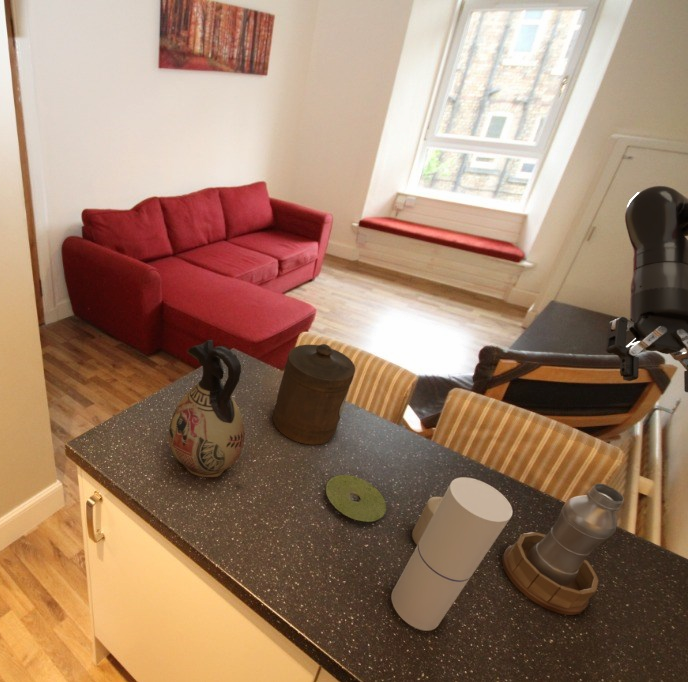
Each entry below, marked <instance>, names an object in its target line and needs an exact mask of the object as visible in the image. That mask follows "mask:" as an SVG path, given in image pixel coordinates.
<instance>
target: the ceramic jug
mask: <svg viewBox="0 0 688 682" xmlns="http://www.w3.org/2000/svg"><path fill="white" fill-rule="evenodd" d="M186 352H187V354H189V355H190V356H192V357H193V358H195V360H197V362H198V363H199V364H200V365H201V366H202V377H201V379H200V380H199V381H198V383H197V384H196V385H194V386H193V387H192V388H191V389H190V390H189V391H188V392H187V393H186V395H184V396H183V397H182V399H181V400H180V401H179V402H178V404H177V405H176V407H175V409H174V412H173V414H172V416H171V420H170V423H169V427H168V443H169V447H170V450H171V452H172V455H173V456H174V457H175V459H176V460H177V461H178V462H179V463H180V464H182V465H183V466H184V467H185V469H186V470H187V471H188V472H190V474H192V475H194V476H197V477H201V478H216V477H220V476H222V474H223V473H224V471H225V470H227V469H229V468H230V467H231V466H233V465H234V463H235V462H236V461H237V460H238V458H239V457H240V456H241V453H242V452H243V448H244V444H245V435H246V434H245V433H246V432H245V425H244V421H243V416H242V413H241V411H240V408H239V406H238V405H237V402H236V401H235V399H234V397H233V396H232V395H233V393H234V391H235V389H236V388H237V386H238V385H239V382H240V379H241V373H242V364H241V361H240V360H239V358H238V356H237V355H236V354H235V353H234V352H232V350H231V349H230V348H229V347H227V346H224V345H218V346H215V347H214V340H213V339H209V340H206V341H205V342H203V343H200V344H198V345H197V344H195V345H193V346H191V347H189V348H188V349H186ZM221 361H222V362H223V363H222V362H221ZM223 364H224V365H225V366H226V368H227V379H226V381H225V382H224V384H223V383H222V380H223V379H224V376H225V375H224V373H225V372H224V366H223Z"/></svg>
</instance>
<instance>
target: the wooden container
mask: <svg viewBox="0 0 688 682" xmlns="http://www.w3.org/2000/svg"><path fill="white" fill-rule="evenodd" d="M355 373H356V366H355V363H354V362H353V360H351V359H350V357H348V356H347V355H346V354H344V353H342V352H340V351H339V350H337V349H334V348H332V347H331V346H330V345H328V344H326V343H322V344H300V345H297V346H295V347H293V348H291V349H290V351H289V352H288V354H287V357H286V362H285V367H284V370H283V374H282V378H281V380H280V384H279V388H278V393H277V397H276V401H275V405H274V408H273V413H272V422H273V424H274V426H275V428H276V429H277V430H278V431H279V432H280V433H281V434H282V435H283V436H285V437H287V438H288V439H290V440H292V441H294V442H297V443H300V444H304V445H323V444H326V443H328V442H330V441H331V440H332V439H333V438H334V436H335V434H336V432H337V431H336V430H337V428H338V425H339V422H340V420H341V416H342V413H343V410H344V406H345V403H346V399H347V396H348V393H349V391H350V390H349V389H350V386H351V385H352V382H353V380H354V376H355Z"/></svg>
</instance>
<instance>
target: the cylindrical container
mask: <svg viewBox="0 0 688 682" xmlns="http://www.w3.org/2000/svg"><path fill="white" fill-rule="evenodd" d="M442 497H443V499H442V500H441V502H440V504H439V506H438V508H437V510H436V512H435V513H434V515H433V517H432V519H431V521H430V523H429V524H428V526H427V528H426V530H425V532H424V534H423V536H422V537H421V539H420V541H419V543H418V545H417V544H416V546H415V549H414V551H413V553H412V554H411V556H410V558H409V560H408V562H407V563H406V566H405V567H404V569H403V571H402V572H401V575H400V576H399V579H398V580H397V582H396V584H395V586H394V587H393V589H392V592H391V595H390V597H391V598H390V599H391V603H392V607H393V608H394V610H395V612H396V613H397V615H398V616H399V617H400V618H401V619H402V620H403V621H404V622H405V623H406V624H408V625H409V626H411V627H412V628H415V629H417V630H419V631H426V632H427V631H428V632H429V631H433V630H435V629H437V628H438V627H439V625H440V624H441V623H442V621H443V619H444V618H445V616H446V614H447V613H448V612H449V610H450V609H451V608H452V606H453V604H454V603H455V601H456V600H457V598H458V597H459V596H460V594H461V592H462V591H463V589H464V588H465V587H466V585H467V583H468V582H469V580H470V579H471V578H472V577H473V574H474V573H475V571H476V570H477V569H478V567H479V566H480V564H481V563H482V561H483V560H484V558H485V557H486V555H487V553H488V552H489V551H490V549H491V547H492V546H493V545H494V543H495V542H496V540H497V539H498V537H499V535H500V534H501V533H502V531H503V530H504V528H505V527H506V525H507V524H508V523H509V521H510V520H511V518H512V516H513V507H512V505H511V503H510V502H509V500H508V499H507V497H505V495H504V494H503V493H502V492H500V491H499V490H497V488H495V487H493V486H492V485H490V484H488V483H486V482H484V481H482V480H479V479H476V478H472V477H465V476H463V477H462V476H461V477H457V478H454V479H452V481H451V482H450V484H449V486H448V488H447V490H446V491H445V492H444V495H443V496H442Z"/></svg>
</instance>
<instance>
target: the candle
mask: <svg viewBox="0 0 688 682" xmlns="http://www.w3.org/2000/svg"><path fill="white" fill-rule="evenodd" d="M443 497H444V496H433V497H430V498H429V499H428V501H427V502H426V504H425V506H424V508H423V510H422V512H421V514H420V515H419V518H418V520H417V521H416V523H415V525H414V527H413V530H412V531H411V537H412V540H413V542H414V544H415V545H416V546H417V545H418V543H419V541H420V539H421V537H422V536H423V534H424V532H425V530H426V528H427V526H428V524H429V523H430V521H431V519H432V517H433V515H434V513H435V512H436V510H437V508H438V506H439V504H440V502H441V500H442V499H443Z"/></svg>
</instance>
